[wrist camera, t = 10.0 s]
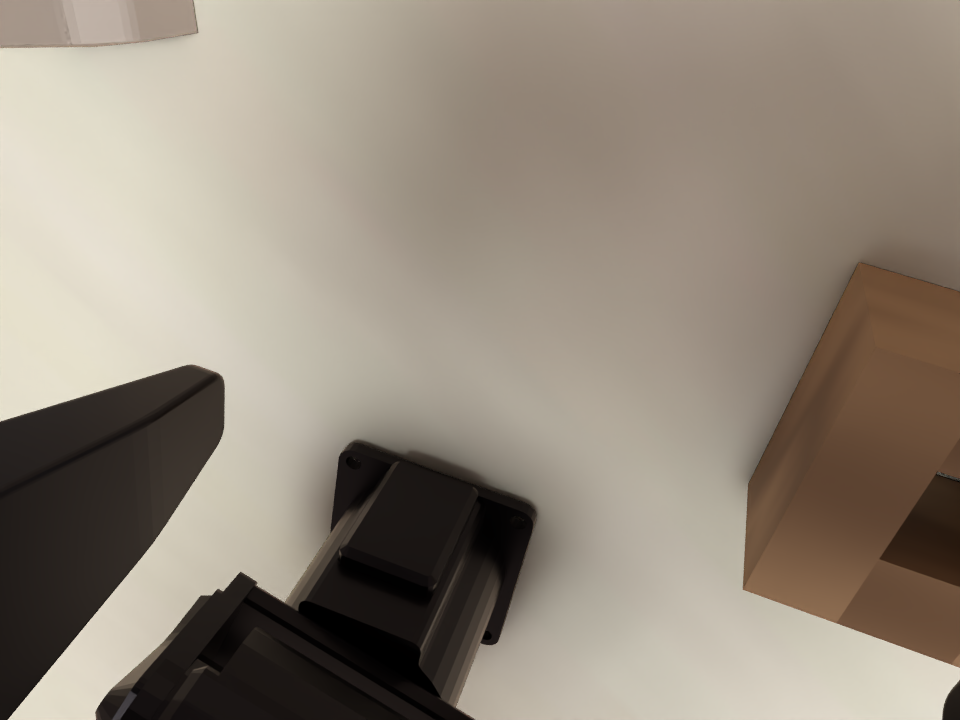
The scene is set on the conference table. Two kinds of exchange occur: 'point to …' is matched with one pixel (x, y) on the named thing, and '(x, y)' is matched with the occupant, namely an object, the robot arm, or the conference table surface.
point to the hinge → (92, 22)
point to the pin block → (869, 472)
